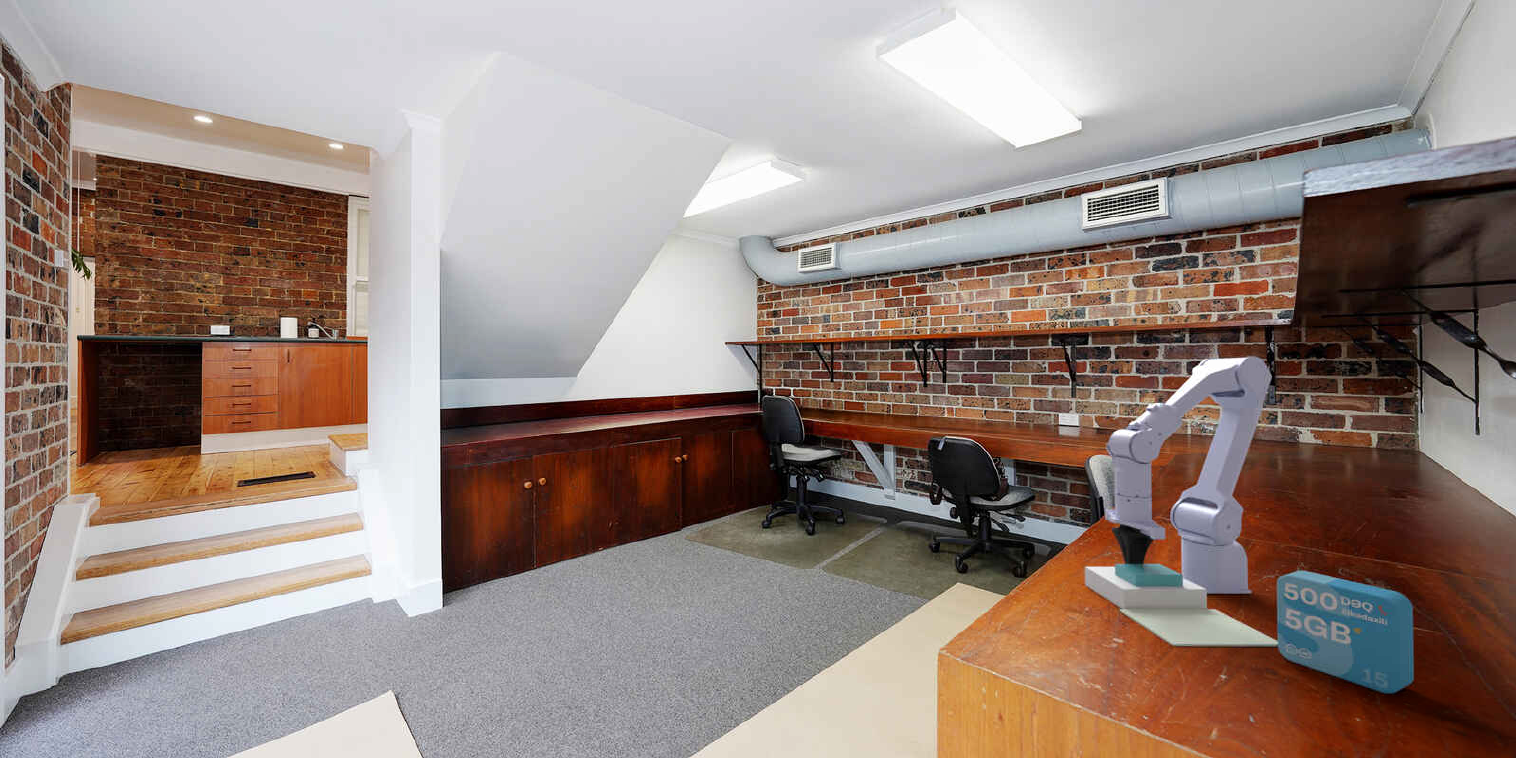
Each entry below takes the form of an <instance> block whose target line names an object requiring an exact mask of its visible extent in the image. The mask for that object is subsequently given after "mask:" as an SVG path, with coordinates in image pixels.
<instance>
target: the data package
mask: <svg viewBox="0 0 1516 758" xmlns="http://www.w3.org/2000/svg"><path fill="white" fill-rule="evenodd" d="M1276 597H1277V598H1276V602H1277V603H1276V604H1277V605H1276V607H1277V608H1276V609H1277V611H1276V613H1277V617H1276V618H1277V619H1276V621H1277V641H1278V646H1277V648H1278V651H1279V652H1280V654H1281V655H1282V656H1283V657H1284V658H1285V659H1286V660H1288V661H1290V662H1292V663H1295V664H1298V665H1301V666H1304V667H1307V668H1309V669H1313V670H1316V671H1317V672H1318V671H1319V672H1322V673H1324V674H1327V675H1330V676H1333V677H1336V678H1339V679H1343V680H1344V681H1345V680H1346V681H1348V682H1350V683H1354V684H1356V685H1360V686H1362V687H1365V688H1368V689H1372V690H1373V691H1376V692H1380V693H1384V694H1395V693H1397V692H1399V691H1400V690H1402V689H1404V688H1406V687H1407V686H1409V685H1411V684H1412V683H1413V682H1414V677H1415V675H1414V674H1415V673H1414V663H1415V662H1414V615H1413V614H1414V613H1413V611H1414V610H1413V605H1412V602H1411V601H1410V600H1409V598H1408V597H1406V595H1405V594H1402V593H1401V592H1398V591H1394V590H1391V589H1387V588H1382V587H1379V586H1374V585H1369V584H1364V583H1361V582H1360V583H1359V582H1357V581H1352V580H1351V581H1350V580H1347V579H1342V578H1337V577H1333V576H1329V575H1324V574H1320V573H1317V572H1311V571H1307V570H1298V571H1294V572H1291V573H1287V574H1284V575H1281V576H1280V577H1279V578H1278V579H1277V582H1276Z"/></svg>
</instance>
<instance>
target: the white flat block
mask: <svg viewBox="0 0 1516 758" xmlns="http://www.w3.org/2000/svg"><path fill="white" fill-rule="evenodd" d="M1084 585H1085V586H1086V587H1087V588H1089V589H1090V590H1091V591H1094V592H1095V593H1097V594H1098V595H1100V596H1101V597H1103V598H1105V599H1106V600H1108V601H1109V602H1110V603H1112V604H1114V605H1115V606H1117V607H1119V609H1208V606H1207V605H1208V597H1207V596H1208V594H1207V589H1205V588H1203V587H1201V586H1199V585H1196V584H1194V583H1192V582H1190V581H1188V580H1186V579H1184V578H1183V587H1174V586H1134V585H1133V584H1131V583H1129V582H1127V581H1125V580H1124V579H1122V578H1120V577H1118V576H1117V575H1115V566H1084Z"/></svg>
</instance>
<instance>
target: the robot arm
mask: <svg viewBox="0 0 1516 758" xmlns="http://www.w3.org/2000/svg"><path fill="white" fill-rule="evenodd" d="M1272 377H1273V376H1272V374H1271V372H1270V369H1269V368H1268V366H1267V364H1266V363H1265V361H1264V360H1263V359H1262V358H1260V357H1258V356H1247V357H1233V358H1231V357H1228V358H1206V359H1203V360H1202V361H1200V363H1199V364H1198V365H1196V366H1195V367H1193V368H1192V371H1191V377H1189V379H1187V381H1186V380H1185V381H1186V382H1184V383H1183V384H1182V386H1180V387H1179V389H1177V391H1176V392H1175V393H1174V394H1172V395H1171V397H1170V398H1169V399H1168V400H1167V401H1166V402H1165V403H1163V402H1156V403H1154V404H1149V405H1148V406H1147V407H1146V408H1145V409H1146V410H1145V412H1144V413H1142V414H1141V415H1139V416H1138V418H1137V419H1136V420H1134V421H1131V422H1130V423H1129V424H1128V426H1127V427H1126V429H1122V428H1121V429H1119V430H1116V431H1114V432H1113V433H1112V434H1111V435H1110V437H1109V440H1108V443H1106V444H1105V448H1106V451H1107V453H1108V454H1109V457H1111V465H1112V467H1114V509H1105V510H1104V519H1105V520H1106V521H1109V522H1110V523H1114V524H1119V525H1118V527H1112V528H1111V532H1112V533H1113V535H1114V537H1115V538H1116V541H1117V543H1118V545H1119V548H1120V551H1121V554H1122V558H1123V560H1124V564H1144V561H1145V558H1146V555H1147V552H1148V550H1149V548H1150V546H1151V545H1152V543H1153V542H1154V541H1155V540H1166V528H1165V527H1163V526H1161V525H1159V524H1158V523H1157V522H1156V521H1155V520H1153V519H1152V518H1153V515H1152V514H1153V511H1152V509H1153V507H1152V504H1153V503H1152V498H1153V497H1152V461H1154V460H1156V459H1157V458H1158V457H1159V454H1160V453H1161V452H1160V451H1161V447H1162V446H1163V443H1164V442H1165V440H1167V439H1168V438H1169V437H1171V436H1172V435H1173V434H1174V433H1175V432H1176V431H1177V430H1179V429H1180V427H1182V425H1183V422H1184V421H1183V416H1184V415H1185V414H1187V413H1188V412H1189V411H1191V410H1192V409H1193V408H1195V407H1196V406H1198V405H1199V404H1200V403H1201V402H1202V401H1204V400H1205V399H1206V398H1208V397H1210V398H1211V399H1212V400H1213V402H1214V403H1215V404H1218V405H1220V407H1221V409H1222V413H1221V416H1220V418H1219V422H1218V425H1217V427H1216V430H1215V433H1214V436H1213V439H1212V441H1211V444H1210V447H1209V450H1208V453H1207V455H1206V458H1205V461H1204V463H1203V466H1202V469H1201V471H1200V475H1199V477H1198V480H1197V483H1196V485H1193V486H1192V487H1190V488H1187V489H1185V490H1183V491H1182V493H1181V495H1180V497H1179V499H1178V500H1177V501H1176V503H1174V504H1173V506H1172V508H1171V511H1170V513H1169V514H1170V515H1169V517H1170V523H1171V525H1172V526H1173V528H1175V530H1177V535H1178V536H1180V537H1181V539H1180V543H1181V548H1180V549H1181V574H1182V575H1183V578H1184V579H1186V580H1188V581H1190V582H1192V583H1194V584H1196V585H1199V586H1201V587H1203V588H1205V589H1207V595H1208V594H1211V595H1212V594H1222V595H1223V594H1226V595H1227V594H1236V595H1237V594H1239V595H1240V594H1244V595H1245V594H1246V595H1247V594H1248V595H1249V594H1250V595H1251V594H1252V590H1250V589H1248V587H1249V584H1248V582H1249V581H1248V577H1249V575H1248V573H1249V572H1248V571H1249V570H1248V568H1249V567H1248V557H1247V553H1246V551H1245V548H1244V547H1243V545H1241V544H1240V543H1239V542H1238V541H1236V540H1237V539H1238V538H1239V537H1240V534H1241V532H1242V515H1243V512H1244V508H1243V506H1242V505H1241V504H1240V503H1239V501H1237V500H1236V498H1235V497H1234V496H1233V494H1234V491H1235V488H1236V486H1237V482H1238V479H1239V477H1240V473H1241V471H1242V468H1243V465H1244V463H1245V461H1246V457H1247V454H1248V451H1249V449H1250V445H1251V443H1252V439H1253V438H1254V434H1255V431H1256V428H1257V426H1258V422H1259V420H1260V418H1261V415H1262V411H1263V407H1264V406H1263V404H1264V401H1265V398H1266V396H1267V393H1268V389H1269V387H1270V384H1271V381H1272Z"/></svg>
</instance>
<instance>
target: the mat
mask: <svg viewBox="0 0 1516 758" xmlns="http://www.w3.org/2000/svg"><path fill="white" fill-rule="evenodd" d="M1119 612H1120V613H1122V614H1123V615H1125V616H1127V617H1128V618H1130V619H1131V620H1133V621H1134V622H1136V623H1138V625H1140V626H1142V627H1143V628H1145V629H1146V630H1148V631H1149V632H1151V633H1153V634H1154V635H1155V636H1157V637H1159V638H1160V639H1162V640H1163V641H1165V642H1166V643H1167V644H1170V645H1171V646H1173V647H1278V640H1277V639H1274V638H1272V637H1271V636H1268V635H1266V634H1265V633H1263V632H1261V631H1258V630H1257V629H1255V628H1253V627H1250V626H1249V625H1247V624H1244V623H1243V622H1241V621H1239V620H1237V619H1235V618H1233V617H1230V616H1229V615H1227V614H1226V613H1223V612H1221V611H1219V610H1217V609H1216V608H1215V609H1214V608H1212V609H1210V608H1207V609H1122V608H1119Z"/></svg>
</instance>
